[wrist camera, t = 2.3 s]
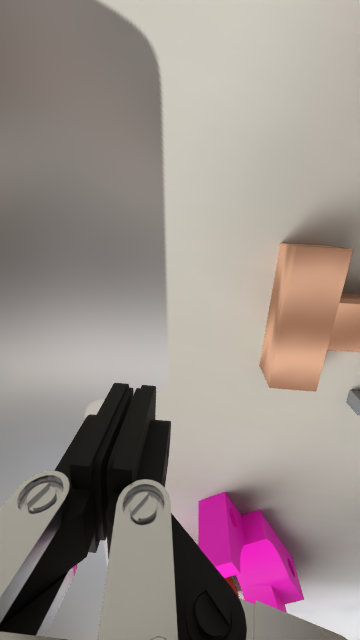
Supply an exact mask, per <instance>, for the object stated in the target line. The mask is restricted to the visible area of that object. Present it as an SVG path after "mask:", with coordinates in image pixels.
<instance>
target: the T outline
mask: <svg viewBox="0 0 360 640" xmlns="http://www.w3.org/2000/svg"><path fill="white" fill-rule="evenodd" d="M347 403H348V405H349V406H350V407H351V408H352V409H353V411H354V412H355V413H356V414H357V415H360V391H357V390H350V392H349V396H348V399H347Z"/></svg>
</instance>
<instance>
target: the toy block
mask: <svg viewBox="0 0 360 640" xmlns="http://www.w3.org/2000/svg"><path fill="white" fill-rule="evenodd" d="M199 548H200V549H201V550H202V551H203V553H204V554H205V555H206V556H207V558H208V559H209V560H210V561H211V563H212V564H213V565H214V566H215V567H216V569H217V570H218V571H219V572H220V574H221V575H222V576H223V577H224V578H227V577H230V576H234V575H236V576H237V579H238V581H239V584H240V587H241V590H242V593H243V596H244V599H245V601H248V602H250V603H252V604H255V601H256V600H257V601H259V602H262V603H264V604H266V605H269V606H271V607H274V608H276V609H278V610H281V611H283V612H286V607H285V604H287V603H291V602H296V601H300V600H304V597H303V594H302V590H301V587H300V583H299V579H298V576H297V572H296V569H295V565H294V562H293V558H292V556H291V555H290V553H289V552H288V551H287V549H286V548H285V546H284V545H283V543H282V542H281V540H280V539H279V537H278V536H277V535H276V533H275V532H274V530H273V529H272V527H271V526H270V524H269V523H268V521H267V520H266V518H265V517H264V516H263V514H262V513H261V511H260V510H257V511H254V512H251V513H248V514H245V515H241V514H240V513H239V511H238V510H237V508H236V507H235V506H234V504H233V503H232V501H231V500H230V499H229V497H228V496H227V494H226V493H225V492H223V493H221V494H218V495H215V496H212V497H209V498H207V499H204V500H201V501H199ZM286 613H287V612H286Z"/></svg>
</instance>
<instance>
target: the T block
mask: <svg viewBox="0 0 360 640" xmlns="http://www.w3.org/2000/svg"><path fill="white" fill-rule="evenodd" d="M352 253H353V249H348V248H340V247H333V246H323V245H305V244H287V243H280V249H279V255H278V261H277V266H276V272H275V278H274V284H273V290H272V296H271V302H270V307H269V313H268V319H267V325H266V331H265V337H264V342H263V348H262V354H261V360H260V367H261V370H262V372H263V374H264V376H265V379H266V381H267V383H268V385H269V388H279V389H291V390H303V391H316V390H317V386H318V382H319V378H320V375H321V371H322V367H323V363H324V359H325V356H326V352H327V350H334V351H347V352H360V294H354V293H342V291H343V287H344V283H345V279H346V275H347V272H348V268H349V264H350V260H351V256H352Z"/></svg>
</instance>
